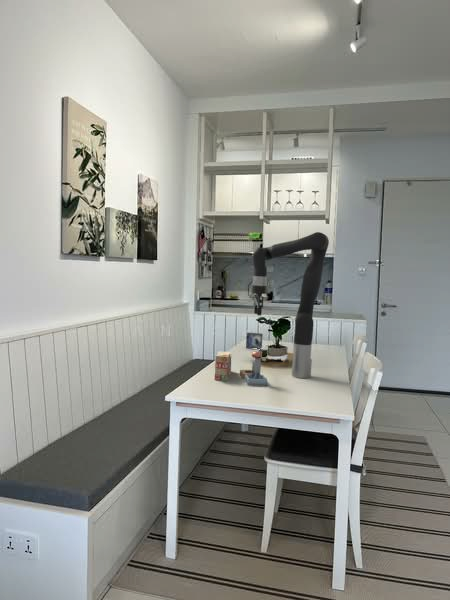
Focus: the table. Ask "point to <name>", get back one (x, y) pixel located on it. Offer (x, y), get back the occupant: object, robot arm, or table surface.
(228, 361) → the stack of blocks
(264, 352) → the miniature car
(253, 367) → the pin
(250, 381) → the tray
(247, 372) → the socket block
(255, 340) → the small box
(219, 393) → the table surface
